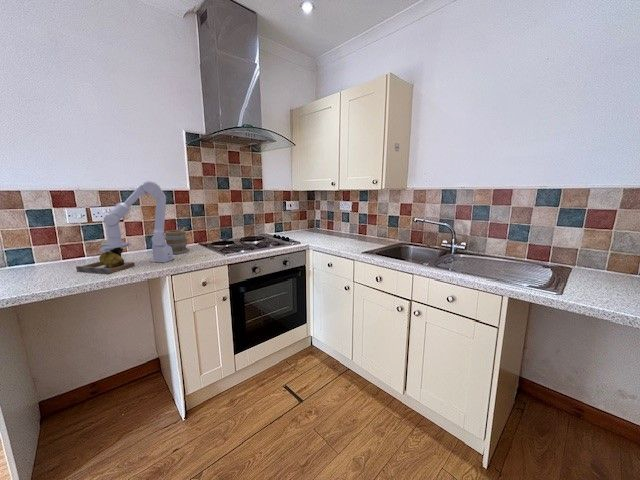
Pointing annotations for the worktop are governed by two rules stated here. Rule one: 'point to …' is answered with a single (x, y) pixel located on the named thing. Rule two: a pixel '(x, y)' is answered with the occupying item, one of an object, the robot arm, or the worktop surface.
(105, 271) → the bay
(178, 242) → the tankard
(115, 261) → the olive green oval lump
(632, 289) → the worktop surface
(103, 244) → the can
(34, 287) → the worktop surface
